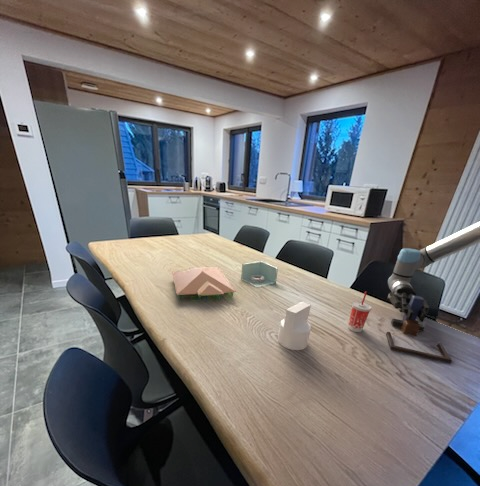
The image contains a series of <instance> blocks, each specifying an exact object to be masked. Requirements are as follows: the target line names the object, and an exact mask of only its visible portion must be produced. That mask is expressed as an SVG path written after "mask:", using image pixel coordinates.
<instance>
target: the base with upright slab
mask: <svg viewBox="0 0 480 486" xmlns="http://www.w3.org/2000/svg"><path fill="white" fill-rule="evenodd" d="M311 305H312V304H311V303H309V302H307V301H303V300H302V301H300V302H298V303H296V304H294V305H292V306H289V307H288V308H286V310H285V315H284V317H285V318H283V319H281V321H280V324H279V329H278V336H277V342H278V344H279V345H280V346H282V347H283V348H286V349H288V350H292V351H301V350H304V349H306V348H307V347H308V343H309V342H308V341H309V339H310V338H309V337H310V333H311V329H312V325H311V324H310V323H309V322H308V320H309V316H310V311H311V307H312V306H311Z"/></svg>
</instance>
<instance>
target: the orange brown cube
mask: <svg viewBox="0 0 480 486" xmlns="http://www.w3.org/2000/svg"><path fill="white" fill-rule="evenodd" d="M420 324H421V323H419V320H416V321H415V320H409V319H405V320H404V322H403V325H402V327H401V328H400V329H401V332H402V334H405V335H408V336H414V337H417V336H418V333H419V331H420V330H419V329H420Z"/></svg>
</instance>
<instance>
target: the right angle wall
mask: <svg viewBox="0 0 480 486" xmlns="http://www.w3.org/2000/svg"><path fill="white" fill-rule="evenodd" d="M278 271H279V268H278V267H277V266H274V265H272V264H270V263H268V262H265V261H262V260H259V261H252V262H246V263H242V264H241V275H240V279H241V280H243V281H244V282H246V283H247V284H250V285H252V286H254V287H256V288H259V287H265V286H268V285H273V284H276V283H277V279H278V278H277V277H278V273H279V272H278Z"/></svg>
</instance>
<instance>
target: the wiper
mask: <svg viewBox="0 0 480 486" xmlns="http://www.w3.org/2000/svg"><path fill="white" fill-rule="evenodd" d="M424 299H425V298H424V297H423V296H419V295H416V296H414V295H412V298H411V300H410V303H409V306H410V308H411V309H412V311H413V315H412V317H411V320H415V321H417V319H418V317H417V316H418V314H419V312H420V309H421V307H422V304H423V302H424ZM405 319H408V318H407V316H406V314H405V313H404V316H403V318H402V319H398V318H394V317H393V318H391V320H390V323H391V325H392V326H396V327H399V328H400V327H402V325H403V322H404V320H405ZM419 324H420V329H419V331H420V332H424V330H425V326H424V324H423V323H419Z"/></svg>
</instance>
